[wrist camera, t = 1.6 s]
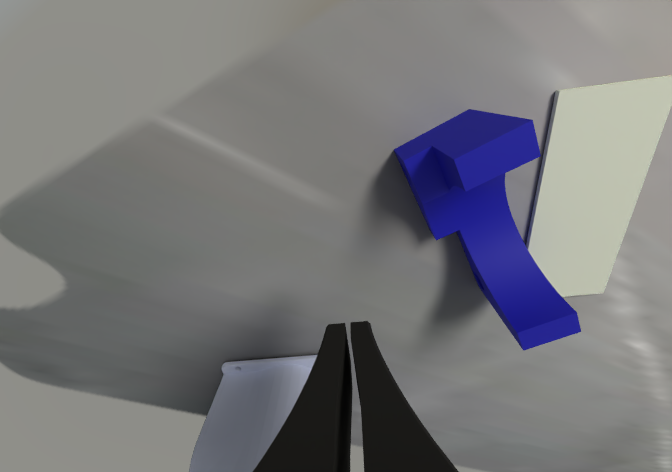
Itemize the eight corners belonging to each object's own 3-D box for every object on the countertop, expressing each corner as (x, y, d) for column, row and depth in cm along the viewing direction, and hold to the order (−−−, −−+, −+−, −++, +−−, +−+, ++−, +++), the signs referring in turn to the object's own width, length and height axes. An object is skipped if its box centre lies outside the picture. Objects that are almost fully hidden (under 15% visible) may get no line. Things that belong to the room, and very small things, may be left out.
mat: (515, 298, 22) (517, 300, 21) (555, 90, 15) (559, 90, 15) (599, 290, 21) (603, 293, 21) (676, 74, 15) (682, 74, 15)
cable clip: (393, 149, 17) (418, 177, 12) (468, 109, 16) (532, 119, 11) (458, 292, 22) (496, 359, 16) (519, 268, 21) (581, 331, 15)
